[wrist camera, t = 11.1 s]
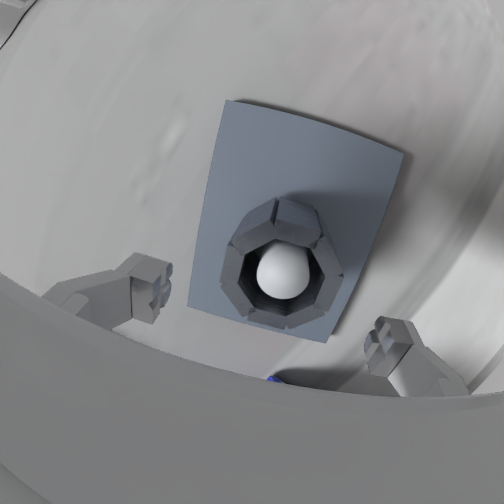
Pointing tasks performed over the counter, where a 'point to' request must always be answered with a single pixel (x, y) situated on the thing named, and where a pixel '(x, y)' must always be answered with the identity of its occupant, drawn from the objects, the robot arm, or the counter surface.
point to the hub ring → (247, 261)
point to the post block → (293, 187)
